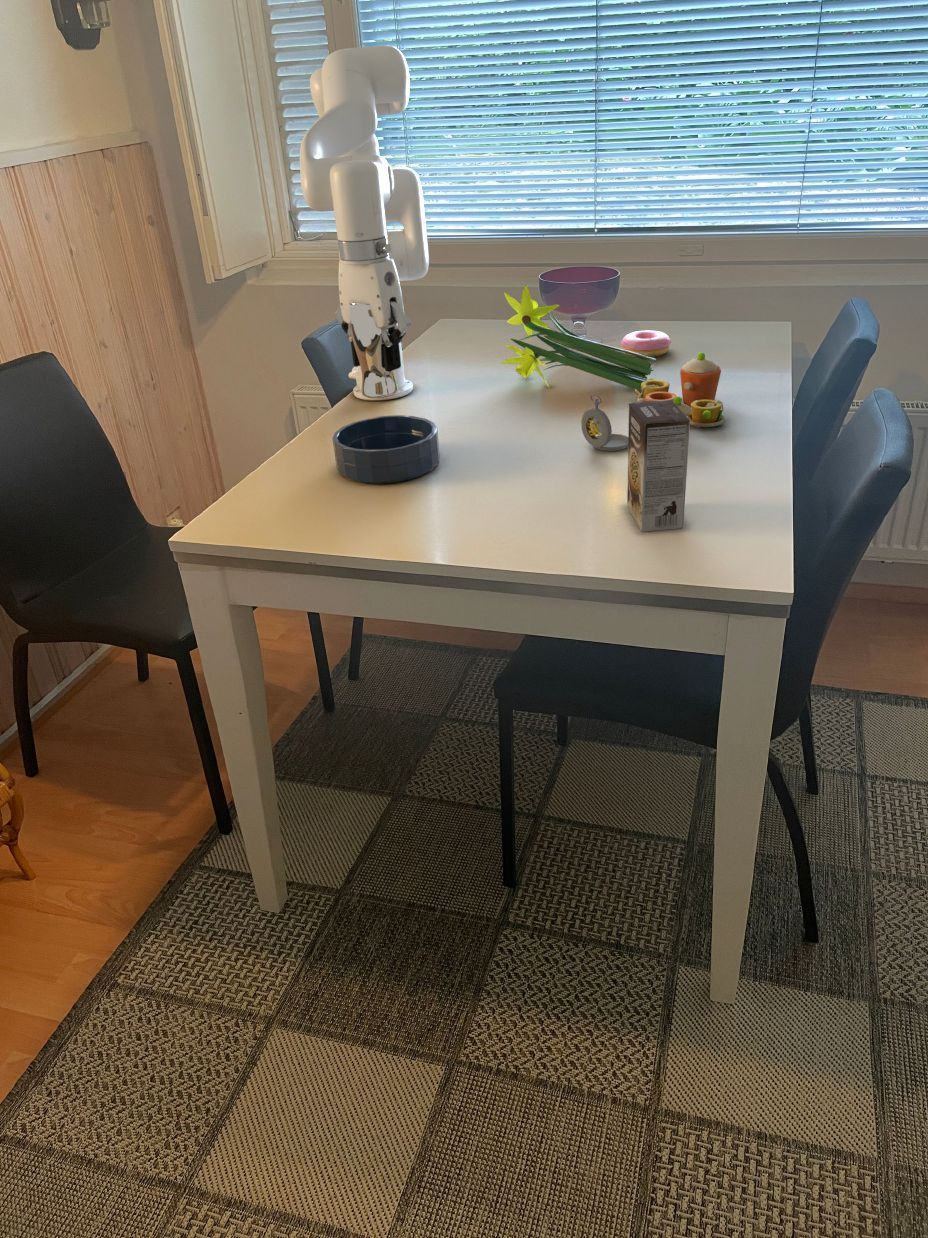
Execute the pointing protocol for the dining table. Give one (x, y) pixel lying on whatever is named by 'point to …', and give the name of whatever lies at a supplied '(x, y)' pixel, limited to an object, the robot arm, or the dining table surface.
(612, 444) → the pocket watch
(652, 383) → the toy tea set
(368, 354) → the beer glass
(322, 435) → the dining table surface
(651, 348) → the doughnut
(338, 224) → the robot arm
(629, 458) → the coffee box
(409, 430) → the bowl
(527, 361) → the daffodil flowers
